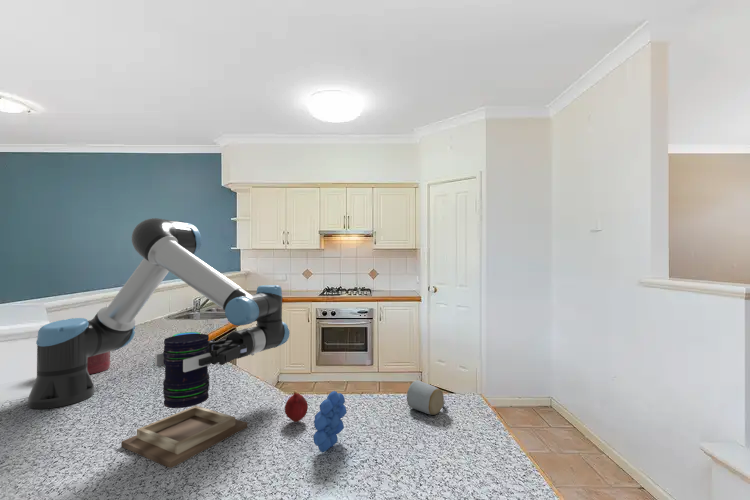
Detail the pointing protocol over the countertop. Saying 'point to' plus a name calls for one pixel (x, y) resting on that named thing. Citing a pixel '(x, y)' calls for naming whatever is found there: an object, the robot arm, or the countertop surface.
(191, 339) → the dark blue barrel
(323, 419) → the grapes
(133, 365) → the countertop surface
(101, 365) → the canister
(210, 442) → the base board
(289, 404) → the onion
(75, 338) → the robot arm
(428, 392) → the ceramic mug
